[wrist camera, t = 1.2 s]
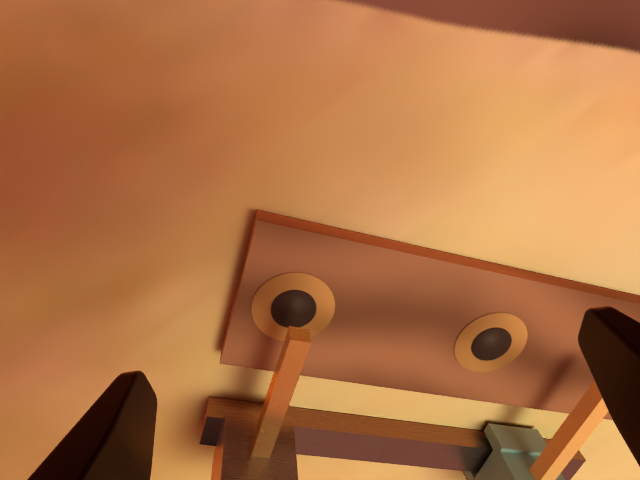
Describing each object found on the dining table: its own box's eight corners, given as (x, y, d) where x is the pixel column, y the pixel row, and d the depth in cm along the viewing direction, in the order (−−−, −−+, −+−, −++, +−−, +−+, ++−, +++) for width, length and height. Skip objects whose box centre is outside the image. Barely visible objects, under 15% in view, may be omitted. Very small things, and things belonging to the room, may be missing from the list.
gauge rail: (552, 470, 35) (618, 577, 29) (199, 432, 29) (182, 558, 23) (641, 352, 30) (746, 450, 24) (240, 277, 24) (232, 380, 18)
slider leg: (507, 471, 34) (566, 584, 28) (461, 466, 33) (510, 581, 27) (595, 346, 29) (693, 447, 23) (543, 336, 28) (629, 438, 22)
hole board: (600, 406, 32) (614, 422, 31) (221, 349, 26) (219, 366, 25) (678, 304, 29) (696, 318, 28) (257, 210, 23) (257, 222, 21)
